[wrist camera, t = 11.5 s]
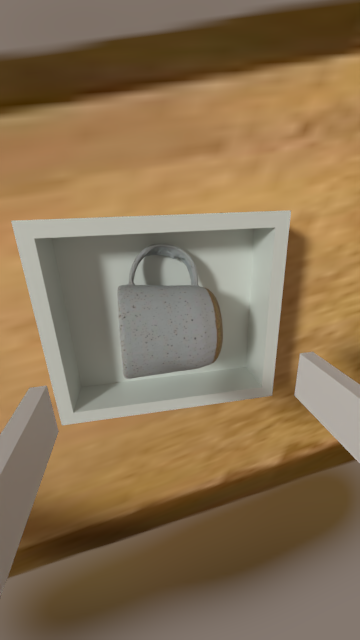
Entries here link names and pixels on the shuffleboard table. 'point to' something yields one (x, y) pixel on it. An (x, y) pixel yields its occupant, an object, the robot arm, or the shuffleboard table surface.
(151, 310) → the ceramic mug
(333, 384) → the robot arm
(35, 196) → the shuffleboard table surface
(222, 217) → the bin
